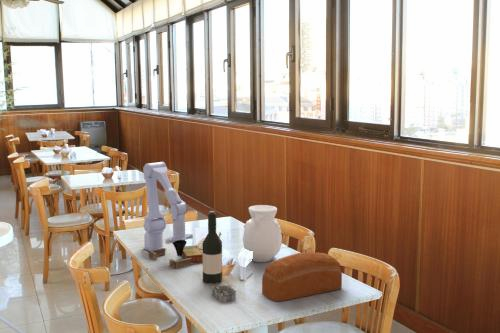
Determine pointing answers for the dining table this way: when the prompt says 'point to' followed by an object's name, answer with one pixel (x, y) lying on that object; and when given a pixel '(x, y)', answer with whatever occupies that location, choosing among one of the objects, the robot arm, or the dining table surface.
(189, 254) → the carton
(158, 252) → the frame
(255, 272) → the dining table surface
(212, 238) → the wine bottle
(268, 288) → the bread
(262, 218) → the white ceramic rounded jar
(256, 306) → the dining table surface
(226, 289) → the grey rock
